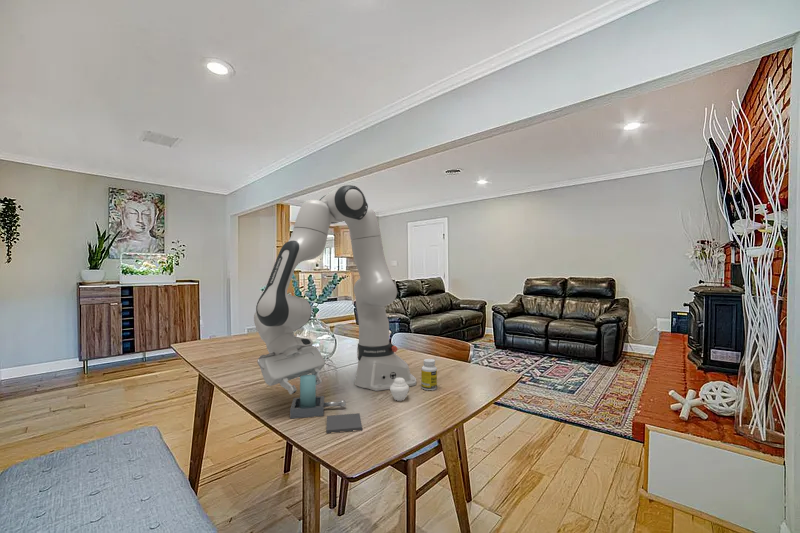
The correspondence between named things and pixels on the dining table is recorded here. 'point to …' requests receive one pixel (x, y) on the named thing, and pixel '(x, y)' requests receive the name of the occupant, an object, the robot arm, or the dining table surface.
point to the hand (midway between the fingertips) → (306, 388)
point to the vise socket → (312, 408)
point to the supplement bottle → (429, 375)
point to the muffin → (399, 389)
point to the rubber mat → (343, 423)
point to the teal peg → (308, 391)
